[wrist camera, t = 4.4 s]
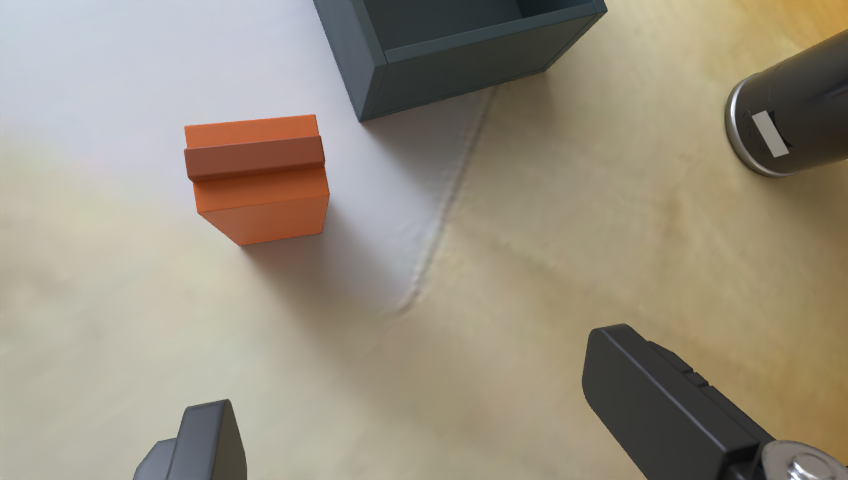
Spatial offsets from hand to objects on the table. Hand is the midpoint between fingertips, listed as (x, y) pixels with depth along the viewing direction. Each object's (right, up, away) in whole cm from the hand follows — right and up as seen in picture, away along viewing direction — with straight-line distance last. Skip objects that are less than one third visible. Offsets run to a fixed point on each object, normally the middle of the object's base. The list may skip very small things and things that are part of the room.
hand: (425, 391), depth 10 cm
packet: (-10, +5, +20) cm, 22 cm away
